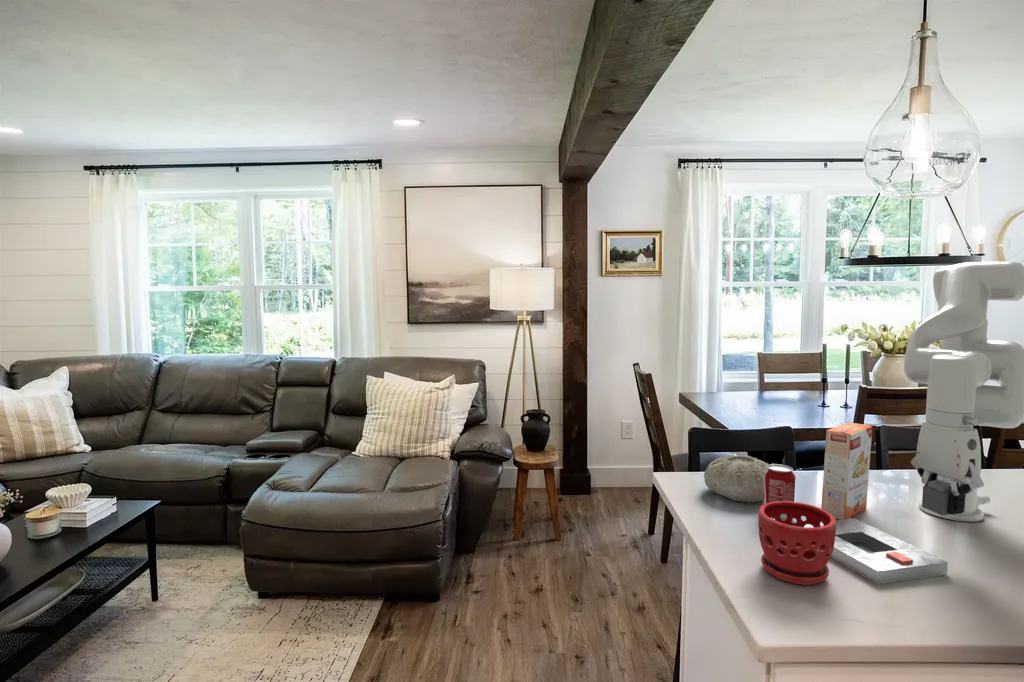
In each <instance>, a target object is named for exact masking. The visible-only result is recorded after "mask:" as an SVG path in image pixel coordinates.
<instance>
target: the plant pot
mask: <svg viewBox="0 0 1024 682" xmlns="http://www.w3.org/2000/svg"><path fill="white" fill-rule="evenodd" d="M781 514H786V516H787V518H786V519H785V520H782V519H781V518H780V516H781ZM772 516H774V517H775V518H776V520H773V519H771V518H770V517H772ZM802 517H805V518H806V519H805V520H803V519H802ZM757 518H758V519H757V520H758V521H757V522H758V537H759V542H760V546H761V549H762V552H763V554H762V555H761V556H760V557H761V558H760V561H761V565H762V566H763V568H764V569H765V570H766V572H768V573H769V574H770V575H772V576H773V577H775V578H777V579H779V580H782V581H785V582H788V583H792V584H796V585H804V586H806V585H815V584H819V583H822V582H824V581H825V580H826V579H827V578H828V576H829V574H830V569H829V567H828V563H829V561H830V559H831V558H830V557H831V555H832V552H833V549H834V543H835V535H836V520H837V519H835V518H834V517H833V515H831V514H830V513H829V512H827V511H825V510H823V509H821V507H818V506H816V505H812V504H808V503H804V502H798V501H794V502H790V501H776V502H769V503H766V504H764V505H763V504H762V505H761V506H760V507H759V510H758V517H757ZM793 519H795V520H796V522H793V521H792V520H793ZM821 522H822V523H823V525H824V526H822V527H821V526H820V523H821ZM807 524H809V525H812V526H813V527H804V526H805V525H807Z"/></svg>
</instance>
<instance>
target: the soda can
mask: <svg viewBox="0 0 1024 682" xmlns="http://www.w3.org/2000/svg"><path fill="white" fill-rule="evenodd" d="M793 470H794V469H793V467H791V466H789V465H785V464H778V463H771V464H768V466H767V470H766V471H765V472H764V484H763V500H762V505H764V504H766V503H769V502H776V501H790V502H795V499H796V498H795V494H796V475H795V473H794V472H793ZM770 518H772V519H776V518H775V517H774V516H772V517H770ZM780 518H781V519H782V520H785V519H786V518H787V516H786V514H781V516H780Z"/></svg>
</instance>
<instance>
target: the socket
mask: <svg viewBox="0 0 1024 682" xmlns="http://www.w3.org/2000/svg"><path fill="white" fill-rule="evenodd" d="M835 520H836V535H835V543H834V549H833V552H832V555H831V558H830V559H832V558H833V559H832V560H833V561H835V560H836V561H835V562H837V561H838V562H837V563H839V564H841V565H842V564H843V565H842V566H845V567H846V568H848V569H850V570H851V571H853V572H855V573H857V574H858V575H860V576H861V577H863V578H864V579H867V580H869V581H870V582H871V583H873V584H875V585H877V586H878V585H884V584H892V583H899V582H905V581H906V582H907V581H913V580H919V579H920V580H921V579H927V578H934V577H942V576H948V567H949V566H948V565H949V562H948V561H946V560H944V559H942V558H940V557H938V556H935V555H934V554H931V553H929V552H927V551H925V550H924V549H921V548H918V547H916V546H914V545H913V544H910V543H908V542H907V541H906V542H905V541H904V540H901V539H899V538H897V537H895V536H894V535H891V534H889V533H886V531H883V530H881V529H878V528H876V527H874V526H871V525H869V524H868V523H865V522H863V521H861V520H859V519H857V518H854V517H851V518H850V519H843V520H837V519H835ZM820 526H821V527H822V526H824V525H823V523H822V522H821V523H820ZM804 527H813V526H812V525H809V524H807V525H805V526H804Z"/></svg>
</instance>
